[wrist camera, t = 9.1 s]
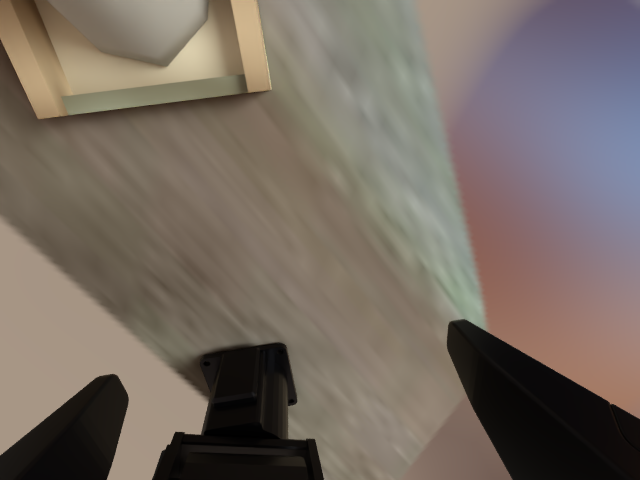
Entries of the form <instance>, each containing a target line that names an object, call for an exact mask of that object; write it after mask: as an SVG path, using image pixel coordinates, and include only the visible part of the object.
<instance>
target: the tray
mask: <svg viewBox="0 0 640 480" xmlns="http://www.w3.org/2000/svg"><path fill="white" fill-rule="evenodd" d="M0 39H1V41H2V43H3V45H4V47H5V50H6V52H7V54H8V56H9V58H10V60H11V62H12V64H13V67H14V69H15V71H16V73H17V75H18V77H19V79H20V82H21V84H22V86H23V88H24V90H25V92H26V94H27V96H28V99H29V101H30V103H31V105H32V107H33V109H34V111H35V113H36V116H37V118H38V119H43V118H51V117H59V116H66V115H74V114H82V113H90V112H98V111H106V110H114V109H122V108H130V107H138V106H146V105H154V104H162V103H170V102H178V101H186V100H194V99H202V98H210V97H218V96H226V95H234V94H242V93H251V92H258V91H266V90H272V88H271V81H270V75H269V69H268V63H267V57H266V50H265V44H264V38H263V32H262V26H261V20H260V13H259V7H258V1H257V0H209V3H208V20H207V21H206V22H205V23H204V24H203V26H202V27H201V28H200V29H199V30H198V31H197V33H196V34H195V35H194V36H193V37H192V38H191V40H190V41H189V42H188V43H187V44H186V45H185V47H184V48H183V49H182V50H181V51H180V52H179V54H178V55H177V56H176V57H175V58H174V59H173V61H172V62H171V63H170V64H169V65H168V66H162V65H158V64H153V63H149V62H144V61H140V60H135V59H130V58H126V57H121V56H117V55H112V54H108V53H103V52H101V51H100V50H99V49H98V48H96V47H95V46H94V45H93V44H92V43H91V42H90V41H89V40H88V39H87V38H86V37H85V36H84V35H83V34H82V33H81V32H80V31H79V30H77V29H76V28H75V27H74V26H73V25H72V24H71V23H70V22H69V21H68V20H67V19H66V18H65V17H64V16H63V15H62V14H61V13H59V12H58V11H57V10H56V9H55V8H54V7H53V6H52V5H51V4H50V3H49V2H48V1H47V0H0Z"/></svg>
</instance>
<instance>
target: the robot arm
mask: <svg viewBox="0 0 640 480" xmlns="http://www.w3.org/2000/svg"><path fill="white" fill-rule="evenodd" d="M447 349H448V352H449V354H450V357H451V359H452V361H453V364H454V366H455V368H456V371H457V373H458V375H459V378H460V380H461V382H462V385H463V387H464V389H465V392H466V394H467V396H468V399H469V401H470V403H471V405H472V407H473V409H474V411H475V413H476V415H477V417H478V418H479V420H480V422H481V424H482V426H483V427H484V429H485V431H486V433H487V435H488V436H489V438H490V440H491V442H492V443H493V445H494V447H495V449H496V451H497V453H498V454H499V456H500V458H501V460H502V461H503V463H504V465H505V467H506V469H507V471H508V472H509V474H510V476H511V478H512V479H513V480H640V419H639V418H637V417H635V416H633V415H631V414H630V413H628V412H626V411H625V410H623V409H621V408H619V407H617V406H616V405H614V404H611V405H610V403H609V402H608V401H607V400H605V399H603V398H602V397H600V396H598V395H596V394H595V393H593V392H591V391H589V390H588V389H586V388H584V387H582V386H580V385H579V384H577V383H575V382H574V381H572V380H570V379H568V378H567V377H565V376H563V375H561V374H559V373H558V372H556V371H554V370H553V369H551V368H549V367H547V366H546V365H544V364H542V363H541V362H539V361H537V360H535V359H533V358H532V357H530V356H528V355H526V354H525V353H523V352H521V351H520V350H518V349H516V348H514V347H512V346H511V345H509V344H507V343H506V342H504V341H502V340H500V339H499V338H497V337H495V336H493V335H492V334H490V333H488V332H486V331H485V330H483V329H481V328H479V327H478V326H476V325H474V324H472V323H471V322H469V321H467V320H465V319H461V320H454V321H451V322H449V325H448V335H447ZM279 350H282V351H279ZM206 361H208V362H206ZM200 366H201V368H202V371H203V374H204V376H205V379H206V381H207V384H208V387H209V389H210V392H211V395H210V399H209V403H208V407H207V412H206V416H205V420H204V424H203V429H202V433H201V435H195V434H185V433H184V432H175V434H174V436H173V439H172V442H171V444H170V445H167V447H166V449H165V450H163V451H162V453H161V456H160V459H159V462H158V464H157V467H156V470H155V474H154V476H153V478H152V480H324V478H323V473H322V469H321V464H320V460H319V455H318V451H317V446H316V442H315V439H306V440H294V439H288V406H291V405H294V404H296V403H297V394H296V389H295V384H294V379H293V375H292V370H291V365H290V360H289V355H288V351H287V347H286V345H285V344H282V343H279V344H272V345H266V346H260V347H253V348H247V349H240V350H234V351H228V352H221V353H215V354H209V355H204V356H203V357H202V358H201V361H200ZM128 401H129V399H128V394H127V392H126V390H125V388H124V386H123V385H122V383H121V381H120V379H119V378H118V376H117V375H115V374H110V375H104V376H99V377H97V378H95V379H94V380H93V381H92V382H90V383H89V384H88V385H87V386H86V387H84V388H83V389H82V390H81V391H79V392H78V393H77V394H76V395H75V396H73V397H72V398H71V399H69V400H68V401H67V402H66V403H65V404H63V405H62V406H61V407H60V408H58V409H57V410H56V411H55V412H53V413H52V414H51V415H50V416H49V417H47V418H46V419H45V420H44V421H42V422H41V423H40V424H39V425H38V426H36V427H35V428H34V429H32V430H31V431H30V432H29V433H28V434H26V435H25V436H24V437H23V438H21V439H20V440H19V441H18V442H16V443H15V444H14V445H13V446H12V447H10V448H9V449H8V450H7V451H5V452H4V453H3V454H2V455H0V480H107V477H108V474H109V471H110V468H111V466H112V462H113V459H114V455H115V452H116V448H117V444H118V440H119V437H120V433H121V429H122V425H123V421H124V418H125V414H126V410H127V407H128Z"/></svg>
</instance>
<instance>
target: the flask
mask: <svg viewBox="0 0 640 480" xmlns="http://www.w3.org/2000/svg"><path fill="white" fill-rule="evenodd" d="M47 1H48V2H49V3H50V4H51V5H52V6H53V7H54V8H55V9H56V10H57V11H58V12H59V13H61V14H62V15H63V16H64V17H65V18H66V19H67V20H68V21H69V22H70V23H71V24H72V25H73V26H74V27H75V28H76V29H77V30H79V31H80V32H81V33H82V34H83V35H84V36H85V37H86V38H87V39H88V40H89V41H90V42H91V43H92V44H93V45H94V46H95V47H96V48H98V49H99V50H100V51H101V52H103V53H108V54H112V55H117V56H121V57H126V58H130V59H135V60H140V61H144V62H149V63H153V64H158V65H162V66H168V65H169V64H170V63H171V62H172V61H173V59H174V58H175V57H176V56H177V55H178V54H179V52H180V51H181V50H182V49H183V48H184V47H185V45H186V44H187V43H188V42H189V41H190V40H191V38H192V37H193V36H194V35H195V34H196V33H197V31H198V30H199V29H200V28H201V27H202V26H203V24H204V23H205V22H206V21H207V20H208V3H209V0H47Z"/></svg>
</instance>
